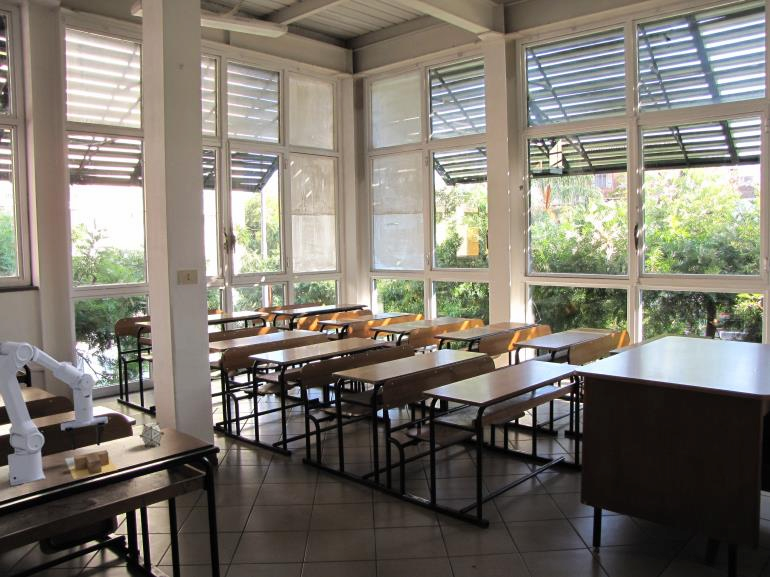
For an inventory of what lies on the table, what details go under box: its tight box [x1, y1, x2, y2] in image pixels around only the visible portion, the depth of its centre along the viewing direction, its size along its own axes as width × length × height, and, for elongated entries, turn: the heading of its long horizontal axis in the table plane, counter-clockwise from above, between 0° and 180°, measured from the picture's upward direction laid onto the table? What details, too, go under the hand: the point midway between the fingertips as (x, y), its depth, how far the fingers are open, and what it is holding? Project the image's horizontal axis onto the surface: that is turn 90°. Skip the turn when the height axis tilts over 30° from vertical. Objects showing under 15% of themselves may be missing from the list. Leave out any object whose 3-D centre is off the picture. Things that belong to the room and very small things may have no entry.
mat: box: [64, 455, 118, 480], centre depth 220 cm, size 13×24×1 cm, turn 32°
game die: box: [138, 422, 165, 448], centre depth 238 cm, size 9×8×10 cm
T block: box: [73, 449, 110, 475], centre depth 214 cm, size 10×10×4 cm
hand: (86, 446), depth 225 cm, fingers open, 7 cm apart
